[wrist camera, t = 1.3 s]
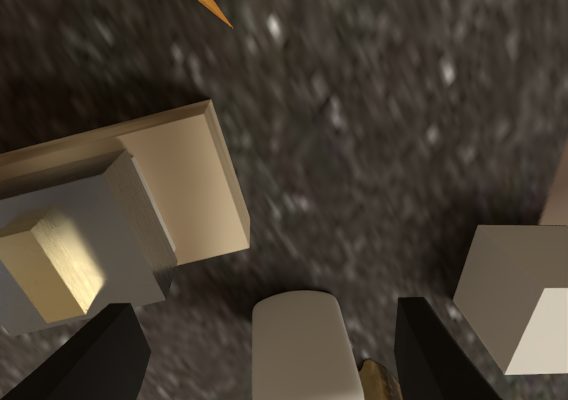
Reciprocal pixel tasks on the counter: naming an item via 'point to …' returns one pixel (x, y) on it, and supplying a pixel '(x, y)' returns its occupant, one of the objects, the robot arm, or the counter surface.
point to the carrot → (214, 9)
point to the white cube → (518, 296)
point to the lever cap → (79, 244)
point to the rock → (378, 382)
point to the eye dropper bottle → (302, 349)
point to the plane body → (164, 175)
